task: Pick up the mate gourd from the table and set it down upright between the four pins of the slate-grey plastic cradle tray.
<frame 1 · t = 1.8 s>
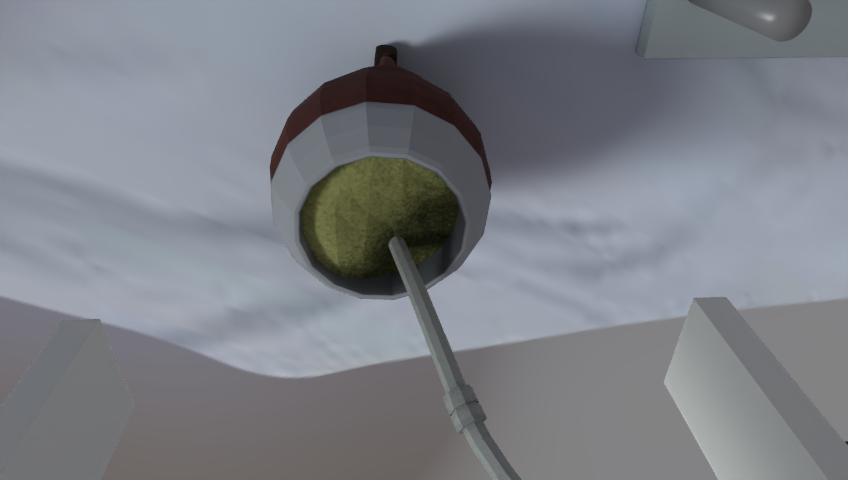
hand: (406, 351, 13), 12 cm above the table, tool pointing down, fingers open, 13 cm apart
mate gourd: (391, 127, 23), on the table
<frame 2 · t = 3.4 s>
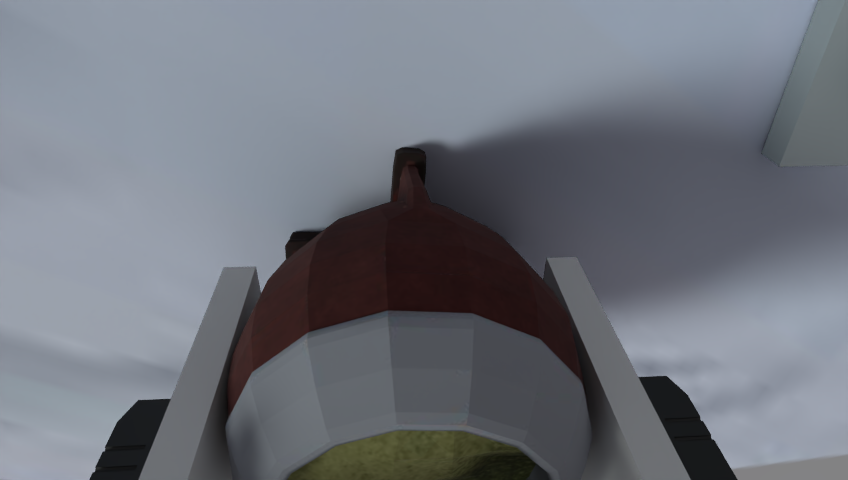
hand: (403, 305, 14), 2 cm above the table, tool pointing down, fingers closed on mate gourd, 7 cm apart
mate gourd: (415, 251, 16), on the table, touching gripper
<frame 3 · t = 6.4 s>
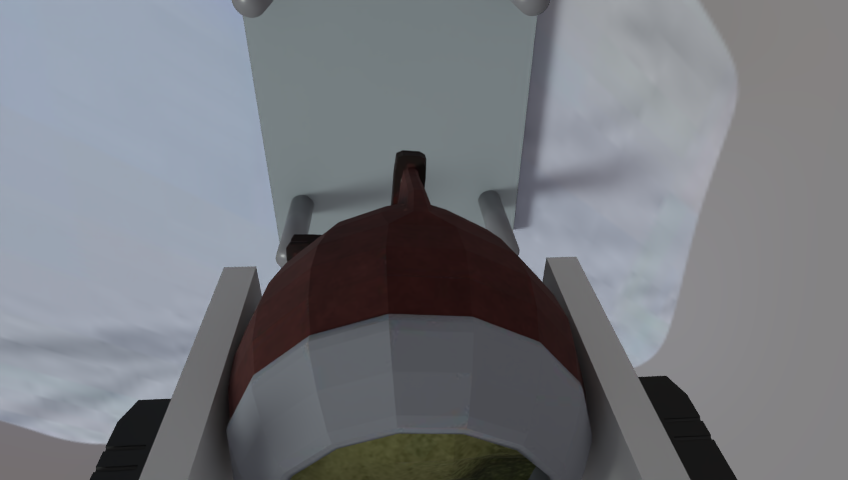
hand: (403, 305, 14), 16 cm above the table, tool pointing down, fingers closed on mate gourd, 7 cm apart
cradle tray: (394, 97, 27), on the table
mate gourd: (415, 253, 16), point 14 cm above the table, touching gripper
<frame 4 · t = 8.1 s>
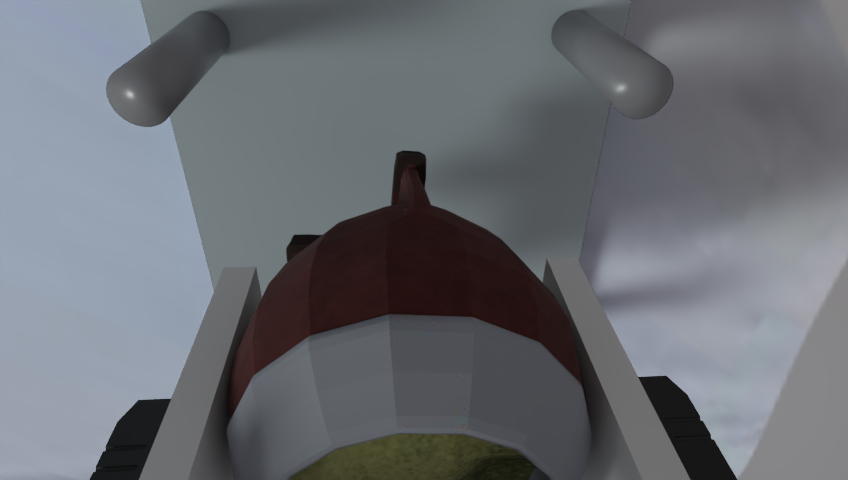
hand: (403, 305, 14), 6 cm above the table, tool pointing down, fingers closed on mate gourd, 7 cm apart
cradle tray: (396, 196, 19), on the table
mate gourd: (415, 254, 16), point 3 cm above the table, touching gripper
when the fingers open (5 cm above the table, at t = 9.2 s): mate gourd drops 2 cm, resting on cradle tray.
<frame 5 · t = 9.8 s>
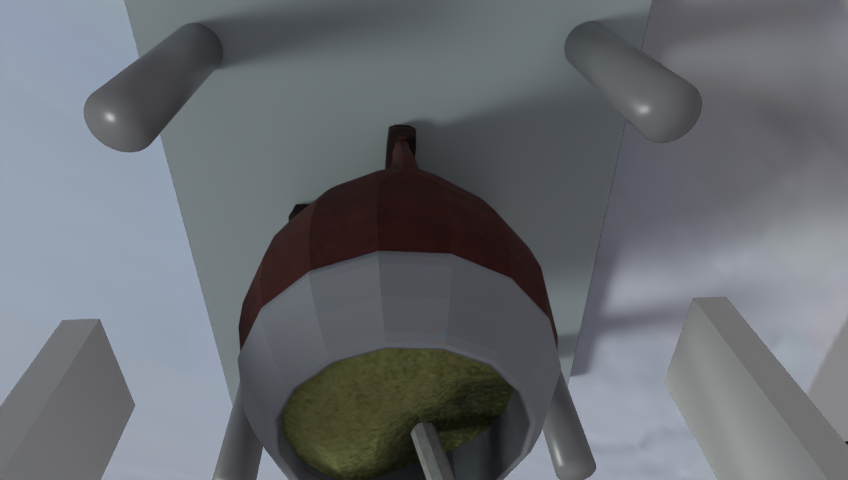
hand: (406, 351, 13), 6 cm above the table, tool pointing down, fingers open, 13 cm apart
cradle tray: (399, 214, 18), on the table
mate gourd: (408, 223, 17), point 1 cm above the table, touching cradle tray
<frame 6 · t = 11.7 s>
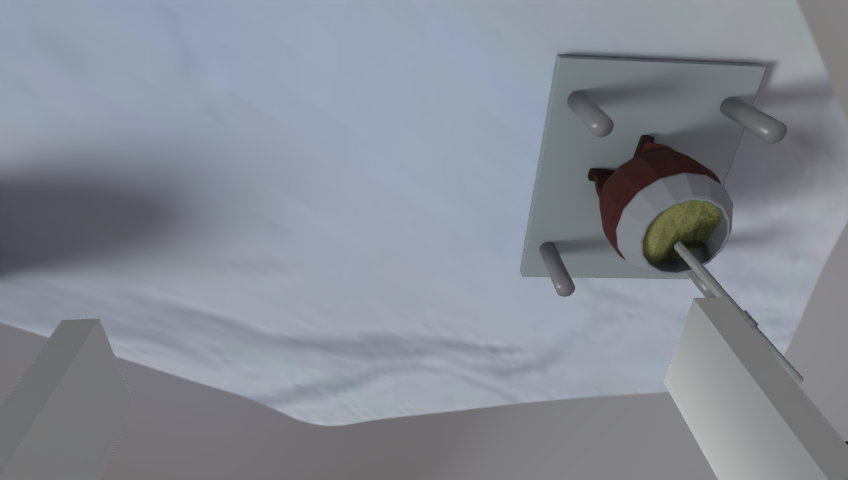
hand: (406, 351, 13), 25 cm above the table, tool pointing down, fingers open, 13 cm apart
cradle tray: (628, 177, 39), on the table
mate gourd: (635, 180, 38), point 1 cm above the table, touching cradle tray
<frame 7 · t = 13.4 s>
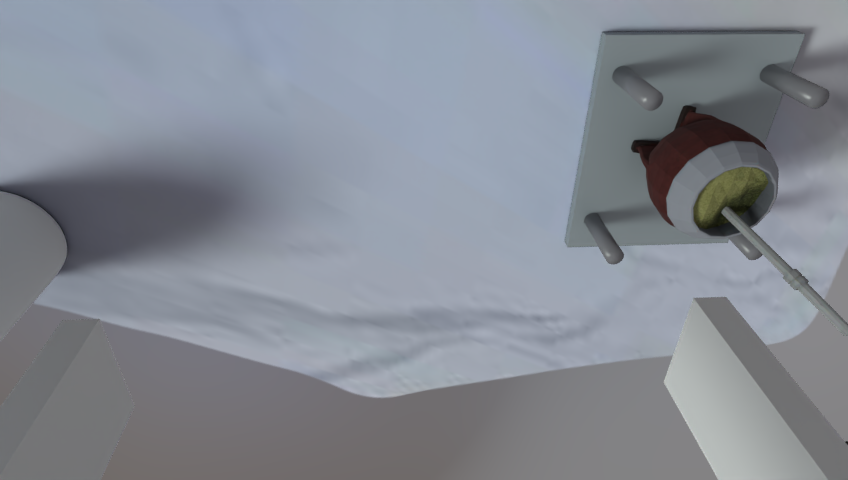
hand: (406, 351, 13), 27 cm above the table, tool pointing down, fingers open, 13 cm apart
cradle tray: (669, 146, 40), on the table
mate gourd: (676, 149, 40), point 1 cm above the table, touching cradle tray
pill bottle: (13, 232, 41), on the table
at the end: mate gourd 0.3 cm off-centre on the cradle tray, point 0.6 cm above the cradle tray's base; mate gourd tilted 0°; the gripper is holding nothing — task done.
